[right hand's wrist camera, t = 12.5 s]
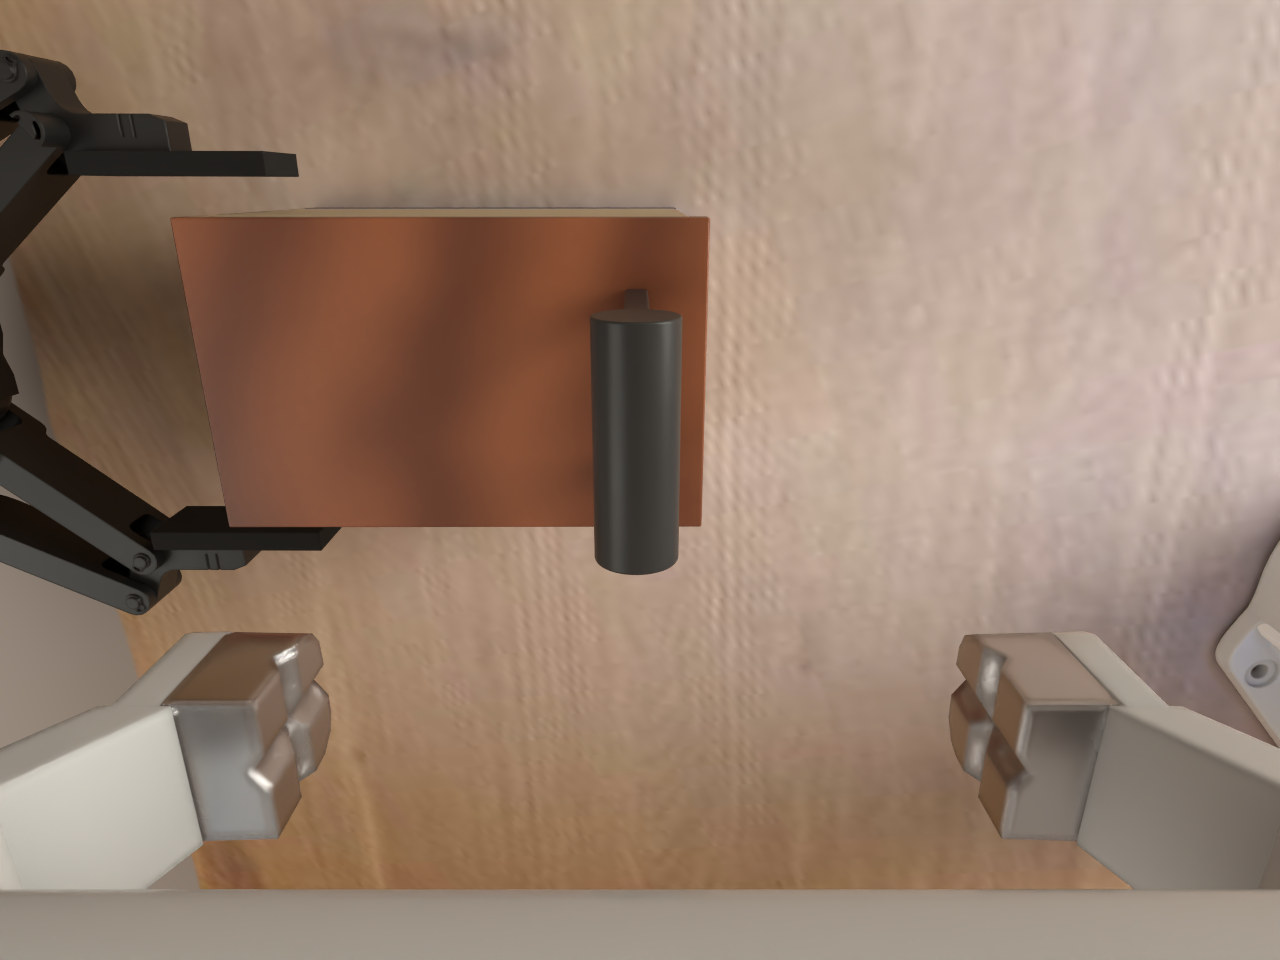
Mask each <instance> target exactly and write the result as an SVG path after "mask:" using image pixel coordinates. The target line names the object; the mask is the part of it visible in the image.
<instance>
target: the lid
mask: <svg viewBox="0 0 1280 960" xmlns="http://www.w3.org/2000/svg"><path fill="white" fill-rule="evenodd" d="M171 225H172V230H173V235H174V240H175V245H176V251H177V256H178V261H179V266H180V272H181V277H182V282H183V287H184V292H185V298H186V303H187V308H188V313H189V318H190V324H191V329H192V334H193V339H194V345H195V350H196V355H197V360H198V365H199V371H200V376H201V381H202V386H203V392H204V397H205V402H206V407H207V412H208V418H209V423H210V428H211V433H212V438H213V444H214V449H215V454H216V459H217V465H218V470H219V475H220V480H221V485H222V491H223V496H224V501H225V506H226V511H227V517H228V522H229V526H230V527H594V543H595V559H596V561H597V563H598V564H599V565H600V566H602V567H603V568H605V569H607V570H609V571H612V572H616V573H620V574H628V575H645V574H652V573H657V572H660V571H663V570H666V569H668V568H670V567H671V566H673V565H674V564H675V563H676V561H677V559H678V540H679V526H701V520H702V485H703V449H704V413H705V378H706V342H707V306H708V271H709V235H710V218H708V217H174V218H171Z"/></svg>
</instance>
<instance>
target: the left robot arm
mask: <svg viewBox="0 0 1280 960" xmlns="http://www.w3.org/2000/svg"><path fill="white" fill-rule="evenodd" d="M75 89H76V79H75V77H74V75H73V73H72V71H71V70H70V69H69V68H68V67H67V66H66V65H64V64H63V63H61V62H57V61H53V60H48V59H43V58H39V57H34V56H29V55H25V54H20V53H15V52H11V51H5V50H0V141H1V140H2V139H4V138H6V137H7V136H9V135H10V134H11V135H10V137H9V138H8V139H7V140H6V141H5V142H4V144H3V145H2V146H1V147H0V276H1V275H2V274H3V272H4V270H5V269H4V267H3V266H2V265H3V263H4V262H5V261H6V259H7V258H8V257H9V256H10V255H11V254H12V253H13V252H14V250H15V249H16V248H17V247H18V246H19V245H20V244H21V242H22V241H23V240H24V239H25V238H26V237H27V236H28V235H29V233H30V232H31V231H32V230H33V229H34V228H35V227H36V226H37V224H38V223H39V222H40V221H41V220H42V219H43V218H44V217H45V215H46V214H47V213H48V212H49V211H50V210H51V209H52V208H53V206H54V205H55V204H56V203H57V202H58V201H59V200H60V198H61V197H62V196H63V195H64V194H65V193H66V192H67V191H68V189H69V188H70V187H71V186H72V185H73V184H74V183H75V182H76V180H77V179H78V178H79V177H80V176H81V175H86V176H238V177H299V174H298V167H297V160H296V154H287V153H276V152H266V151H192V149H191V143H190V137H189V131H188V126H187V123H185V122H182V121H180V120H177V119H175V118H172V117H167V116H160V115H153V114H92V113H91V112H89V111H88V110H87V109H86V108H85V107H84V106H83V105H82V104H81V102H80V101H79V99H78V97H77V96H76V94H75ZM18 393H19V392H18V388H17V384H16V381H15V377H14V374H13V372H12V370H11V368H10V366H9V365H8V363H7V361H6V359H5V357H4V355H3V332H2V329H1V325H0V485H1V486H2V487H4V488H5V489H7V490H8V491H10V492H11V493H13V494H14V495H16V496H18V497H19V498H21V499H22V500H24V501H25V502H27V503H28V504H30V505H28V504H26V503H23V502H21V501H19V500H16V499H13V498H10V497H7V496H3V495H0V562H2V563H4V564H7V565H9V566H12V567H14V568H17V569H20V570H22V571H24V572H27V573H30V574H32V575H35V576H37V577H40V578H42V579H44V580H47V581H49V582H52V583H55V584H57V585H60V586H62V587H65V588H67V589H70V590H72V591H75V592H77V593H80V594H82V595H85V596H87V597H90V598H92V599H95V600H97V601H100V602H102V603H105V604H107V605H110V606H112V607H115V608H117V609H120V610H122V611H125V612H127V613H130V614H133V615H142V614H144V613H146V612H147V611H148V610H150V609H151V608H152V607H153V606H154V605H155V604H157V603H158V602H159V601H160V600H161V599H162V598H163V597H165V596H166V595H167V594H168V593H169V592H170V591H172V590H173V589H174V588H175V587H176V586H177V585H179V583H180V582H181V579H182V575H181V572H180V570H209V569H211V570H219V569H221V570H235V569H238V568H240V567H243V566H245V565H247V564H248V563H249V562H250V561H251V560H252V559H253V558H254V557H255V556H256V555H257V554H258V553H259V552H260V551H261V550H316V551H321V550H322V549H323V548H324V547H325V546H326V545H327V543H328V542H329V541H330V540H331V539H332V538H333V537H334V535H335V534H336V533H337V532H338V531H339V530H340V529H341V527H230V526H229V522H228V517H227V511H226V506H186V507H185V508H184V509H182V510H181V511H179V512H178V513H176V514H175V515H174V516H172V517H171V518H169V517H167V516H166V515H164V514H163V513H161V512H160V511H158V510H157V509H155V508H154V507H152V506H151V505H149V504H148V503H146V502H145V501H143V500H142V499H140V498H139V497H137V496H136V495H134V494H133V493H131V492H130V491H128V490H127V489H126V488H124V487H123V486H121V485H120V484H118V483H117V482H115V481H114V480H112V479H111V478H109V477H108V476H106V475H105V474H103V473H102V472H100V471H99V470H97V469H96V468H94V467H93V466H91V465H90V464H88V463H87V462H85V461H84V460H82V459H81V458H79V457H78V456H76V455H75V454H73V453H72V452H70V451H69V450H67V449H66V448H64V447H63V446H61V445H60V444H58V443H57V442H55V441H54V440H52V439H51V438H49V437H48V436H47V434H46V427H45V426H44V425H43V424H42V423H41V422H40V421H38V420H37V419H35V418H33V417H32V416H31V415H29V414H28V413H26V412H25V411H23V410H22V409H20V408H19V407H17V406H16V405H14V404H13V403H11V400H12V396H13V395H16V394H18Z"/></svg>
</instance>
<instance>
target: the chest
mask: <svg viewBox="0 0 1280 960" xmlns="http://www.w3.org/2000/svg"><path fill="white" fill-rule="evenodd" d="M189 217H688V216H686V215H684V214H683V213H681V212H679V211H678V210H676V208H305V209H295V210H280V211H265V212H250V213H235V214H219V215H204V216H189Z"/></svg>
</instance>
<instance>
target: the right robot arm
mask: <svg viewBox="0 0 1280 960" xmlns="http://www.w3.org/2000/svg"><path fill="white" fill-rule="evenodd" d="M1215 658H1216V661H1217V663H1218V665H1219V666H1220V667H1221V669H1222V670H1223V672H1224V673H1225V674H1226V676H1227V677H1228V678H1229V680H1230V681H1231V683H1232V684H1233V685H1234V687H1235V688H1236V690H1237V691H1238V692H1239V694H1240V695H1241V696H1242V698H1243V699H1244V701H1245V702H1246V703H1247V705H1248V706H1249V708H1250V709H1251V710H1252V712H1253V713H1254V714H1255V716H1256V717H1257V719H1258V720H1259V721H1260V723H1261V724H1262V725H1263V727H1264V728H1265V730H1266V731H1267V732H1268V734H1269V735H1270V737H1271V738H1272V739H1273V741H1274V742H1275V743H1276V745H1277V746H1278V748H1277V747H1275V746H1273V745H1270V744H1268V743H1266V742H1263V741H1261V740H1259V739H1256V738H1254V737H1252V736H1250V735H1247V734H1245V733H1243V732H1240V731H1238V730H1236V729H1234V728H1231V727H1229V726H1227V725H1224V724H1222V723H1220V722H1217V721H1215V720H1213V719H1211V718H1208V717H1206V716H1204V715H1201V714H1199V713H1197V712H1195V711H1192V710H1190V709H1188V708H1185V707H1183V706H1168V705H1167V704H1166V703H1165V702H1164V701H1163V700H1162V699H1161V698H1160V697H1159V696H1158V695H1157V694H1156V693H1155V692H1154V691H1153V690H1152V689H1151V688H1150V687H1149V686H1148V685H1147V684H1146V683H1145V682H1144V681H1143V680H1142V679H1141V678H1139V677H1138V676H1137V675H1136V674H1135V673H1134V672H1133V671H1132V670H1131V669H1130V668H1129V667H1128V666H1127V665H1126V664H1125V663H1124V662H1123V661H1122V660H1121V659H1120V658H1119V657H1118V656H1117V655H1116V654H1115V653H1114V652H1113V651H1112V650H1111V649H1110V648H1109V647H1108V646H1107V645H1106V644H1105V643H1104V642H1102V641H1101V640H1100V639H1099V638H1098V637H1097V636H1096V635H1094V634H1091V633H1089V632H1086V631H1078V632H1054V633H1012V634H974V635H965V636H964V638H963V640H962V642H961V644H960V647H959V652H958V658H957V663H956V665H957V666H958V668H959V669H960V671H961V672H962V674H963V676H964V677H965V679H966V680H965V681H964V682H963V683H962V684H961V686H960V687H959V688H958V689H957V690H956V691H955V692H954V693H953V694H952V695H951V703H950V712H949V725H950V736H951V742H952V745H953V748H954V751H955V755H956V757H957V759H958V761H959V763H960V765H961V766H962V768H963V770H964V771H965V772H967V773H968V774H970V775H971V776H973V777H974V778H976V779H977V780H979V781H980V782H981V784H980V790H979V795H978V797H979V799H980V801H981V803H982V804H983V806H984V808H985V810H986V812H987V813H988V815H989V817H990V819H991V820H992V822H993V824H994V826H995V827H996V829H997V831H998V833H999V835H1000V836H1001V838H1002V839H1029V840H1065V841H1077V845H1078V846H1079V847H1081V848H1082V849H1083V850H1085V851H1086V852H1087V853H1088V854H1090V855H1091V856H1092V857H1094V858H1095V859H1096V860H1097V861H1099V862H1100V863H1101V864H1103V865H1104V866H1105V867H1106V868H1108V869H1109V870H1110V871H1112V872H1113V873H1114V874H1115V875H1117V876H1118V877H1119V878H1121V879H1122V880H1123V881H1124V882H1126V883H1127V884H1128V885H1130V886H1131V887H1132V888H1133V889H147V888H148V887H149V886H151V885H152V884H153V883H154V882H156V881H157V880H158V879H160V878H161V877H162V876H163V875H165V874H166V873H167V872H169V871H170V870H171V869H173V868H174V867H175V866H176V865H178V864H179V863H180V862H182V861H183V860H184V859H185V858H187V857H188V856H189V855H191V854H192V853H193V852H194V851H196V850H197V849H198V848H200V847H201V846H202V845H203V841H215V840H250V839H278V838H279V836H280V835H281V833H282V831H283V829H284V828H285V826H286V824H287V822H288V820H289V819H290V817H291V815H292V813H293V812H294V810H295V808H296V806H297V804H298V803H299V801H300V799H301V797H302V795H301V790H300V784H299V782H300V781H301V780H303V779H304V778H306V777H307V776H309V775H310V774H312V773H313V772H315V771H316V770H317V768H318V766H319V764H320V763H321V761H322V759H323V757H324V755H325V752H326V748H327V744H328V739H329V735H330V731H331V709H330V702H329V695H328V694H327V693H326V692H325V691H324V690H323V689H322V688H321V687H320V686H319V684H318V683H317V682H316V681H315V680H314V679H315V677H316V676H317V674H318V672H319V671H320V669H321V668H322V666H323V665H324V664H323V658H322V653H321V648H320V643H319V641H318V640H317V639H316V638H315V636H314V635H313V634H303V633H252V632H235V633H232V632H195V633H189V634H185V635H184V636H183V637H182V638H181V639H180V640H179V641H178V642H177V643H176V644H175V645H174V646H173V647H172V648H171V649H170V650H168V651H167V652H166V653H165V654H164V655H163V656H162V657H161V658H160V659H159V660H158V661H157V662H156V663H155V664H154V665H153V666H152V667H151V668H150V669H149V670H148V671H147V672H146V673H145V674H144V675H143V676H142V677H141V678H140V679H139V680H138V681H137V682H135V683H134V684H133V685H132V686H131V687H130V688H129V689H128V690H127V691H126V692H125V693H124V694H123V695H122V696H121V697H120V698H119V699H118V700H117V701H116V702H115V703H114V704H113V705H112V706H97V707H95V708H92V709H90V710H88V711H85V712H83V713H81V714H79V715H76V716H74V717H72V718H69V719H67V720H65V721H62V722H60V723H58V724H56V725H53V726H51V727H49V728H46V729H44V730H42V731H39V732H37V733H35V734H33V735H30V736H28V737H26V738H23V739H21V740H19V741H16V742H14V743H12V744H10V745H7V746H5V747H3V748H0V960H1280V541H1279V542H1278V544H1277V545H1276V547H1275V548H1274V550H1273V552H1272V554H1271V555H1270V557H1269V559H1268V561H1267V563H1266V565H1265V568H1264V570H1263V573H1262V575H1261V578H1260V581H1259V583H1258V586H1257V589H1256V591H1255V594H1254V596H1253V598H1252V600H1251V602H1250V604H1249V606H1248V607H1247V609H1246V610H1245V611H1244V612H1243V613H1242V614H1241V615H1240V616H1239V617H1238V619H1237V620H1236V621H1235V622H1234V623H1233V624H1232V625H1231V627H1230V628H1229V629H1228V630H1227V632H1226V633H1225V634H1224V635H1223V637H1222V638H1221V640H1220V641H1219V643H1218V645H1217V647H1216V651H1215ZM1255 666H1256V667H1255ZM1254 667H1255V668H1254ZM1253 668H1254V669H1253Z"/></svg>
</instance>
